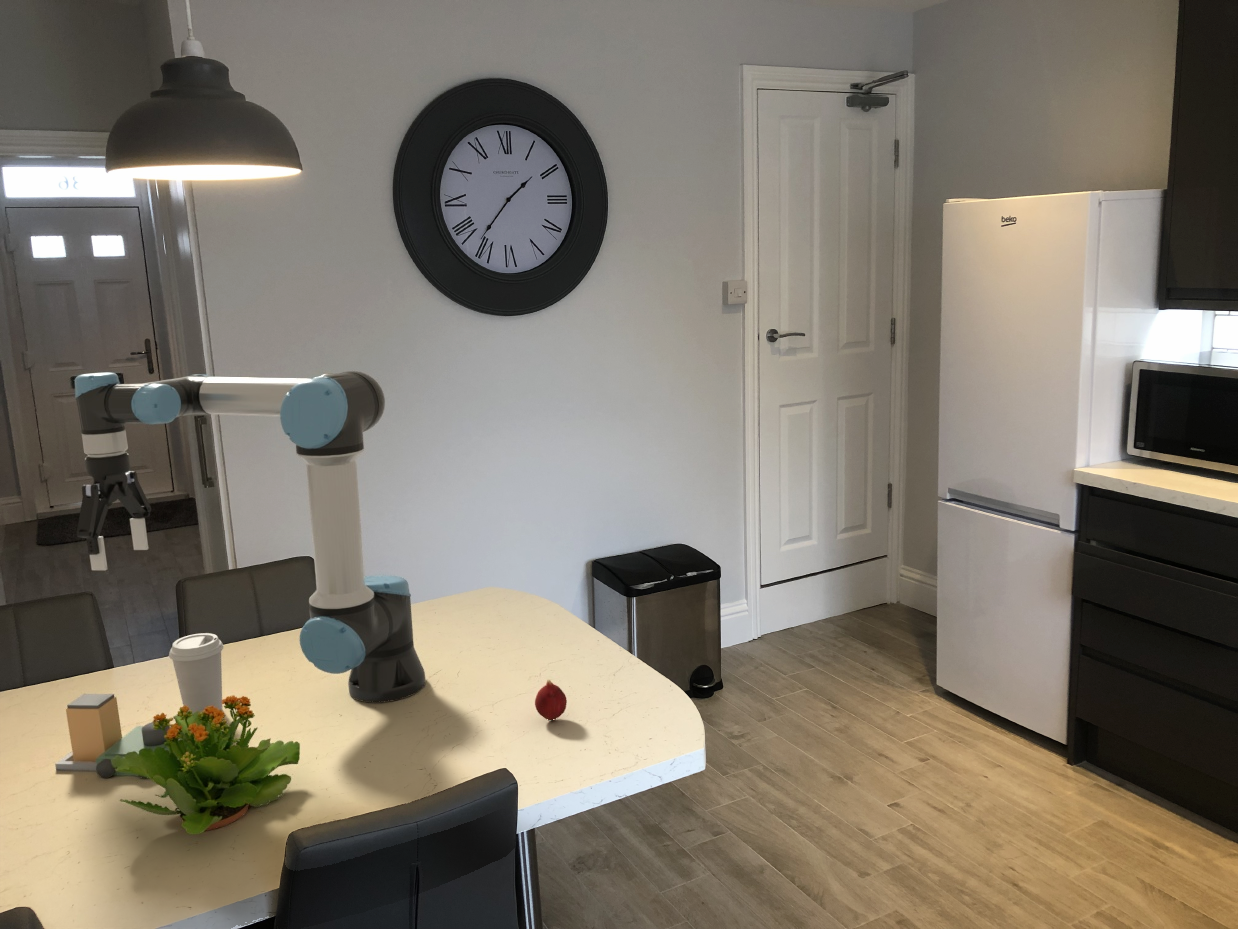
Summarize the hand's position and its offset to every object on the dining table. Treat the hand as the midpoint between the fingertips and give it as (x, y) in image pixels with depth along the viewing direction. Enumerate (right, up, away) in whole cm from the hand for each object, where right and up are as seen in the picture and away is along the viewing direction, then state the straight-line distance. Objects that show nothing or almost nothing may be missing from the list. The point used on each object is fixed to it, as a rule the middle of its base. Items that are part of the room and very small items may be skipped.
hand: (121, 559), depth 187 cm
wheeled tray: (+11, -33, -20) cm, 40 cm away
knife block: (+6, -33, -20) cm, 39 cm away
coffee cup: (+18, -30, -4) cm, 35 cm away
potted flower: (+35, -36, -40) cm, 64 cm away
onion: (+86, -29, -11) cm, 91 cm away
